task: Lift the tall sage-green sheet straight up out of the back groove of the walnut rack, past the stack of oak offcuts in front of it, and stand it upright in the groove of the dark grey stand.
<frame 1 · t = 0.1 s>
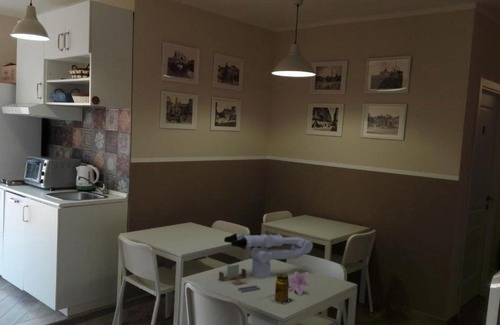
hand: (228, 241, 227), 22 cm above the table, tool horizontal, fingers open, 7 cm apart
offcut lower: (239, 285, 226), resting on rack, touching offcut upper
stand: (249, 292, 217), on the table
condiment: (282, 300, 210), on the table
lily: (297, 292, 222), on the table
offcut upper: (239, 283, 226), point 1 cm above the table, touching offcut lower
rack: (235, 283, 229), on the table
sheet: (232, 280, 232), resting on rack
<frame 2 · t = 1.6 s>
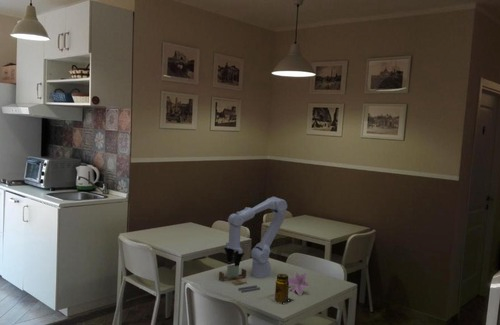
hand: (233, 263, 231), 9 cm above the table, tool pointing down, fingers open, 7 cm apart
nothing on the table moved.
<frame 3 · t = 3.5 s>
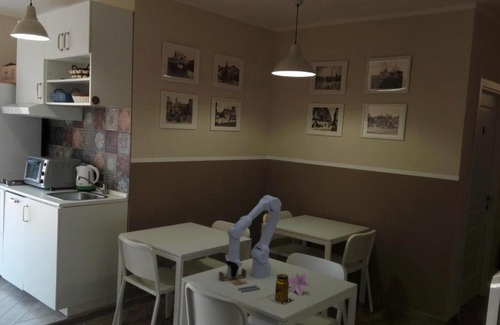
hand: (232, 276, 232), 3 cm above the table, tool pointing down, fingers closed on sheet, 1 cm apart
sheet: (232, 280, 232), resting on rack, touching gripper
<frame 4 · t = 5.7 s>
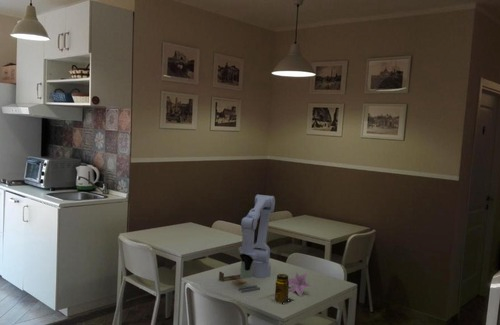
hand: (246, 269, 219), 10 cm above the table, tool pointing down, fingers closed on sheet
sheet: (246, 277, 219), point 7 cm above the table, touching gripper
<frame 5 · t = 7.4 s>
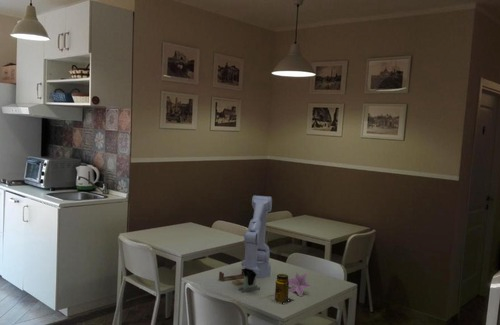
hand: (249, 284, 217), 4 cm above the table, tool pointing down, fingers closed on sheet, 1 cm apart
sheet: (249, 291, 217), resting on stand, touching gripper
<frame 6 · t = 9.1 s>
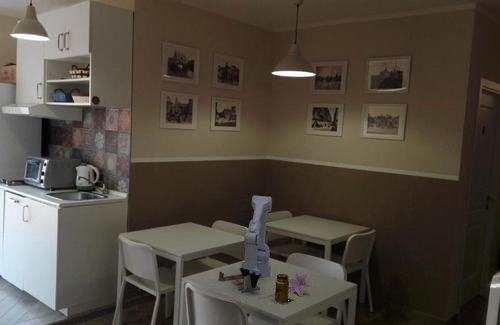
hand: (249, 284, 217), 4 cm above the table, tool pointing down, fingers open, 7 cm apart
sheet: (249, 291, 217), resting on stand
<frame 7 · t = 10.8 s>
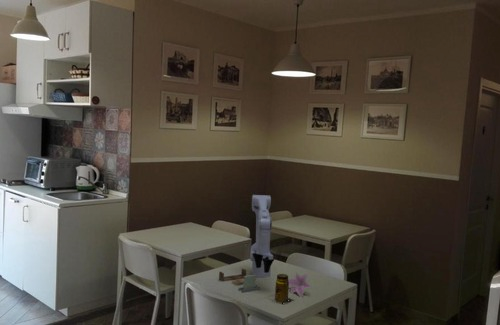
hand: (262, 270, 220), 10 cm above the table, tool pointing down, fingers open, 7 cm apart
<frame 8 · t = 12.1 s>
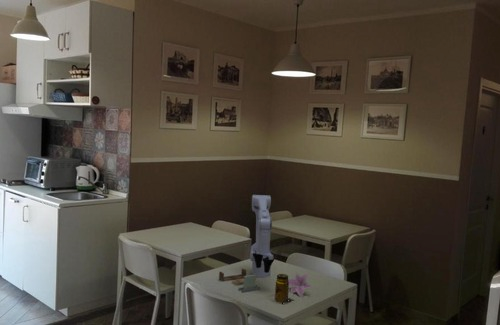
hand: (262, 270, 220), 10 cm above the table, tool pointing down, fingers open, 7 cm apart
at the end: sheet 0.0 cm off-centre on the stand, point 0.5 cm above the stand's base; sheet tilted 0°; the gripper is holding nothing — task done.
